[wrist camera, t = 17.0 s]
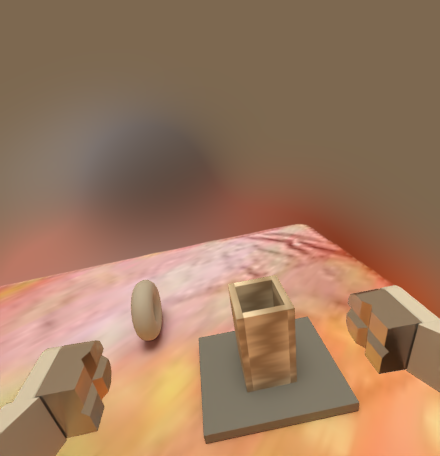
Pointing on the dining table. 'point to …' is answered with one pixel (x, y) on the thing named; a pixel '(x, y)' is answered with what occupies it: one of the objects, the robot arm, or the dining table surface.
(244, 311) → the sleeve
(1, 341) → the dining table surface
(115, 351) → the dining table surface
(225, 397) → the post board
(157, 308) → the donut
